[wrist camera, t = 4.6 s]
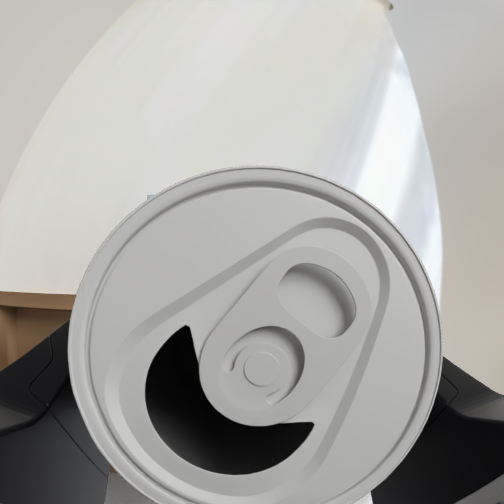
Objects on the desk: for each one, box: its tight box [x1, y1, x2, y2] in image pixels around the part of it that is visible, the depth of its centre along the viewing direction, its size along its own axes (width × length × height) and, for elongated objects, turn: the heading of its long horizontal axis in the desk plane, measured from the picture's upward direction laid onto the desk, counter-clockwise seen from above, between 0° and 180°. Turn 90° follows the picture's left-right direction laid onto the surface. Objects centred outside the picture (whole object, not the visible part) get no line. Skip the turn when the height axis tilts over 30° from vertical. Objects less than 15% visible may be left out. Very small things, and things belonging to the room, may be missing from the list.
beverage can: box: [68, 166, 443, 504], centre depth 9 cm, size 6×6×12 cm
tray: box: [0, 291, 117, 473], centre depth 14 cm, size 10×10×3 cm
